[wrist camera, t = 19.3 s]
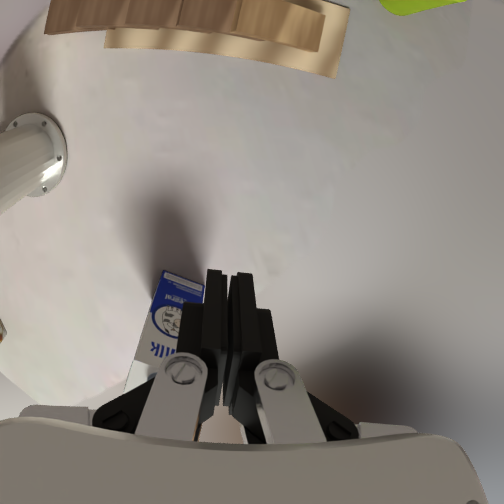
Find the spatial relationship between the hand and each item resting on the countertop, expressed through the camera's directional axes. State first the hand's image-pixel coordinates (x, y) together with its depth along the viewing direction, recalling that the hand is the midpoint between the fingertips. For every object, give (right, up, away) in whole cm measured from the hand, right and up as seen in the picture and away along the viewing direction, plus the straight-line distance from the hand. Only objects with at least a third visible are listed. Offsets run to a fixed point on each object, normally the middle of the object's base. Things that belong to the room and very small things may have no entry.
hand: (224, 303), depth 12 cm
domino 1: (-15, +31, +15) cm, 38 cm away
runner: (-2, +30, +18) cm, 35 cm away
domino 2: (-9, +30, +16) cm, 35 cm away
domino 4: (+3, +28, +18) cm, 33 cm away
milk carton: (-11, -5, +38) cm, 39 cm away
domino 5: (+9, +27, +19) cm, 34 cm away
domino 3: (-3, +29, +17) cm, 34 cm away
